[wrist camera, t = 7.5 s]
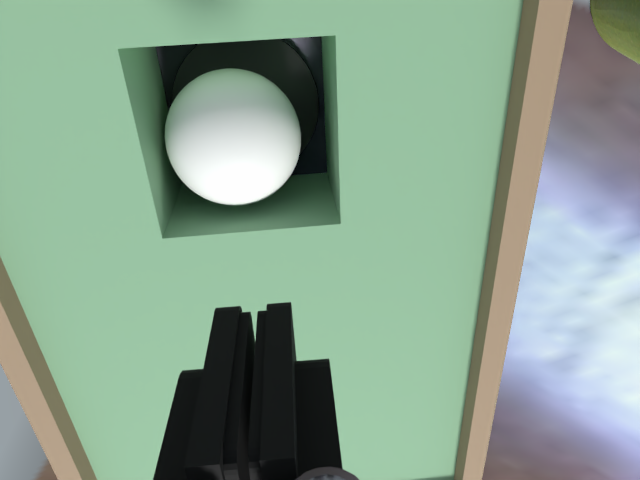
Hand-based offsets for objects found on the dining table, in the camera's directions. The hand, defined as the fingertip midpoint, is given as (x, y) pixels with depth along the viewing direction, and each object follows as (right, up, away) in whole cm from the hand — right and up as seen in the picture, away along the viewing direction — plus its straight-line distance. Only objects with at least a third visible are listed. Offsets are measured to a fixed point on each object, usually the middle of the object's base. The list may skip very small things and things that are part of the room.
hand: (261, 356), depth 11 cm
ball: (-2, +6, +7) cm, 10 cm away
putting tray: (-1, +2, +13) cm, 13 cm away
